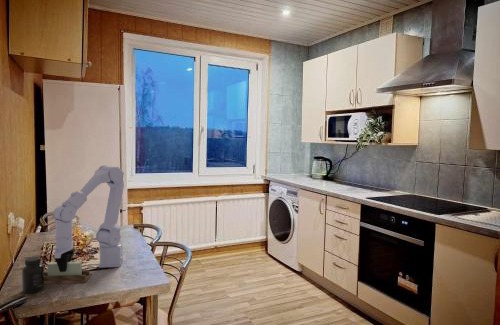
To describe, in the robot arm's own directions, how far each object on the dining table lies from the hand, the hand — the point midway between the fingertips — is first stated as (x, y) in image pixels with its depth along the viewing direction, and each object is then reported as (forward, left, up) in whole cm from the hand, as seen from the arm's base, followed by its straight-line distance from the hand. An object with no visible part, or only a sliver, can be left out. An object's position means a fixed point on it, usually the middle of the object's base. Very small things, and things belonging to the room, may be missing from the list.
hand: (64, 269), depth 137 cm
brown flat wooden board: (0, 0, -4) cm, 4 cm away
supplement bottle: (+8, +9, -4) cm, 12 cm away
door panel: (0, 0, -3) cm, 3 cm away
